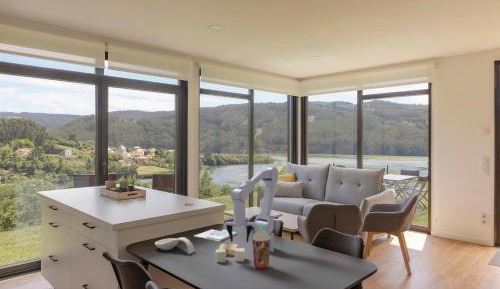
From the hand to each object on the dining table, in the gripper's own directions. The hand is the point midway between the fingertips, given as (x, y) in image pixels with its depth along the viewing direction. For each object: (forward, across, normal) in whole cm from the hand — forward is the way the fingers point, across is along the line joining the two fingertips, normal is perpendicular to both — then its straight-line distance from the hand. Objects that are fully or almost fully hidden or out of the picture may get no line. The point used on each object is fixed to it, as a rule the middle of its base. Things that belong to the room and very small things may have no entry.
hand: (239, 241), depth 167 cm
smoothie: (+9, +11, -9) cm, 17 cm away
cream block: (+9, 0, 0) cm, 9 cm away
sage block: (+9, -9, -2) cm, 13 cm away
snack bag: (+10, -19, +41) cm, 46 cm away
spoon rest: (+10, -36, +13) cm, 39 cm away
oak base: (+9, -7, +10) cm, 15 cm away
